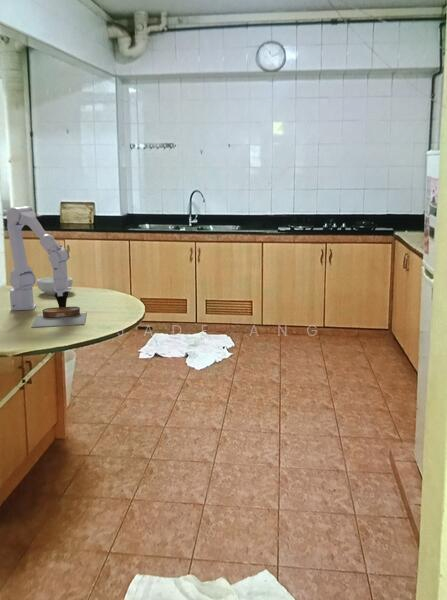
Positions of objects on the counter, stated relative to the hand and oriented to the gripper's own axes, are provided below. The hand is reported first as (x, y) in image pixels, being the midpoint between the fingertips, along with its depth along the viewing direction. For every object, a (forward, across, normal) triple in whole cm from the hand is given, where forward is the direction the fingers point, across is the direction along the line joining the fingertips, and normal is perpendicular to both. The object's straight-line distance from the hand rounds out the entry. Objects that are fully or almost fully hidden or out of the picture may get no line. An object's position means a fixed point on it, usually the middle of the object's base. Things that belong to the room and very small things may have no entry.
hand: (62, 309), depth 254 cm
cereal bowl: (+2, +42, +7) cm, 43 cm away
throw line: (+1, -3, 0) cm, 3 cm away
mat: (+1, -14, 0) cm, 14 cm away
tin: (0, -2, 0) cm, 2 cm away
